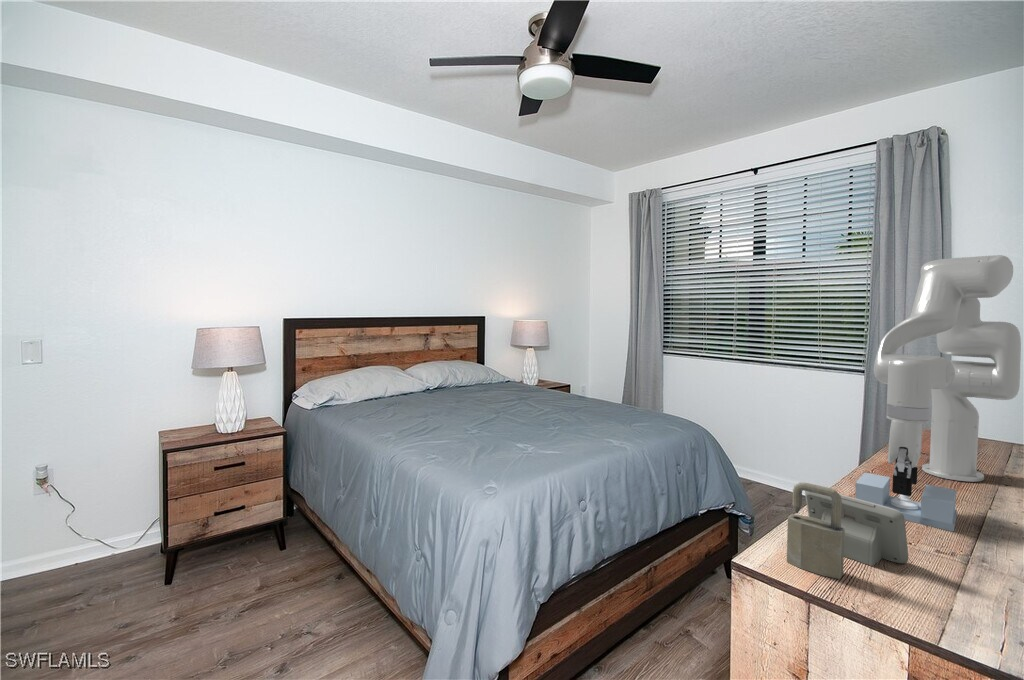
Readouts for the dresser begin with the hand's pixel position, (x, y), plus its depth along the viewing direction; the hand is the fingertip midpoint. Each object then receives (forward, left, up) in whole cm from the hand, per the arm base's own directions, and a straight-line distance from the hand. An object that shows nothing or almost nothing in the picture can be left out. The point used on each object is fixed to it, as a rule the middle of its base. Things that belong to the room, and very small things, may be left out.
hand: (904, 488), depth 107 cm
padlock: (+41, -8, -6) cm, 42 cm away
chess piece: (0, 0, -4) cm, 4 cm away
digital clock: (+29, -4, -6) cm, 30 cm away
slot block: (0, 0, -6) cm, 6 cm away
